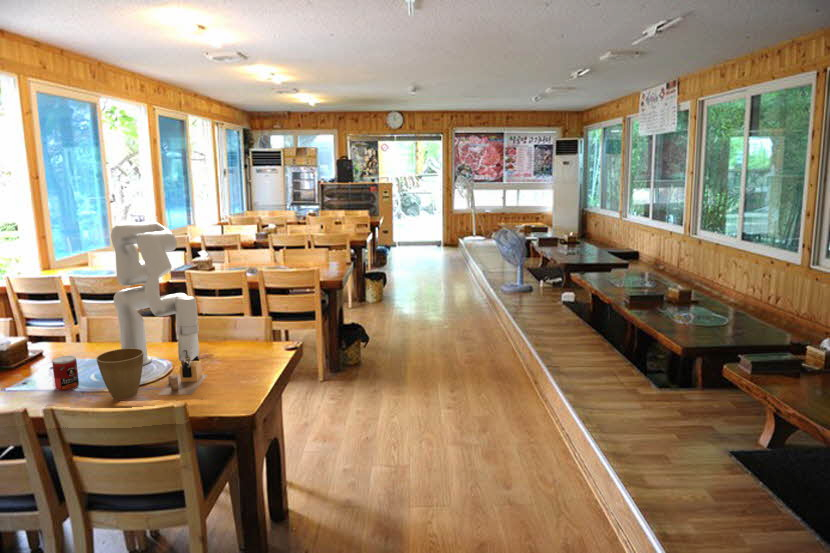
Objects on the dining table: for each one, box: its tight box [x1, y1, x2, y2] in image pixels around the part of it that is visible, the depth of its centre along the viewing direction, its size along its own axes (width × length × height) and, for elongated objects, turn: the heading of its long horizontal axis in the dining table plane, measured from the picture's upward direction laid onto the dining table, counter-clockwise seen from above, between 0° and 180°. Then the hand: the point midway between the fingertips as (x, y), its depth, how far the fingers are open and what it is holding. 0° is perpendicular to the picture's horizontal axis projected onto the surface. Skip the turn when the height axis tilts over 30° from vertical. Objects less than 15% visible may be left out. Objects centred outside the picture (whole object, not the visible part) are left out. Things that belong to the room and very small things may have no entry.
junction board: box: [157, 374, 208, 396], centre depth 219 cm, size 12×20×6 cm, turn 3°
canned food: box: [51, 355, 80, 392], centre depth 220 cm, size 8×8×11 cm
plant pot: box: [95, 348, 144, 402], centre depth 209 cm, size 15×15×16 cm
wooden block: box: [179, 360, 203, 382], centre depth 224 cm, size 6×6×6 cm
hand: (191, 372), depth 224 cm, fingers open, 9 cm apart
